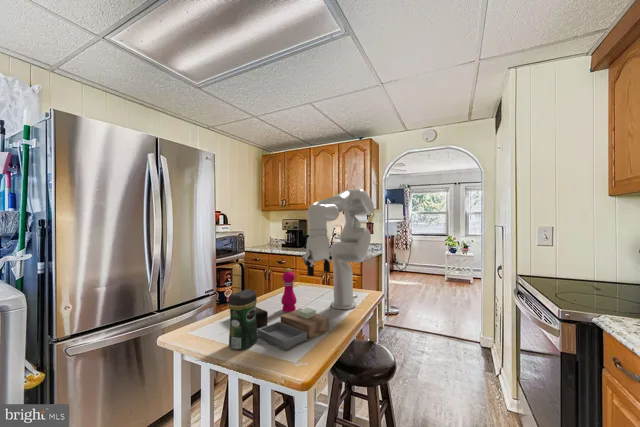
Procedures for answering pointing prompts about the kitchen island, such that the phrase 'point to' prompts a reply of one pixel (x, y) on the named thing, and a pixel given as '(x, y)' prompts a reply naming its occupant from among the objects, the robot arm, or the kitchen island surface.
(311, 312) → the tile
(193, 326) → the kitchen island surface
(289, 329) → the tray
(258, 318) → the beverage carton
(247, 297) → the coffee jar
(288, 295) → the pepper mill
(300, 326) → the board
